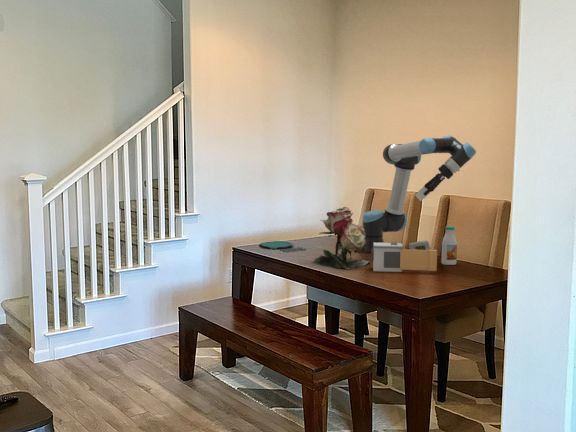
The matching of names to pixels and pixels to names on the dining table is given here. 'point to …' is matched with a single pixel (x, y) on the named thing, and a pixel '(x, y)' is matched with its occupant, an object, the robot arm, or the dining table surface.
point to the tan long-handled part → (418, 259)
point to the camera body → (386, 257)
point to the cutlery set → (281, 246)
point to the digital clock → (419, 245)
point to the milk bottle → (449, 247)
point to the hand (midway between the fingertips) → (417, 198)
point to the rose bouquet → (343, 240)
